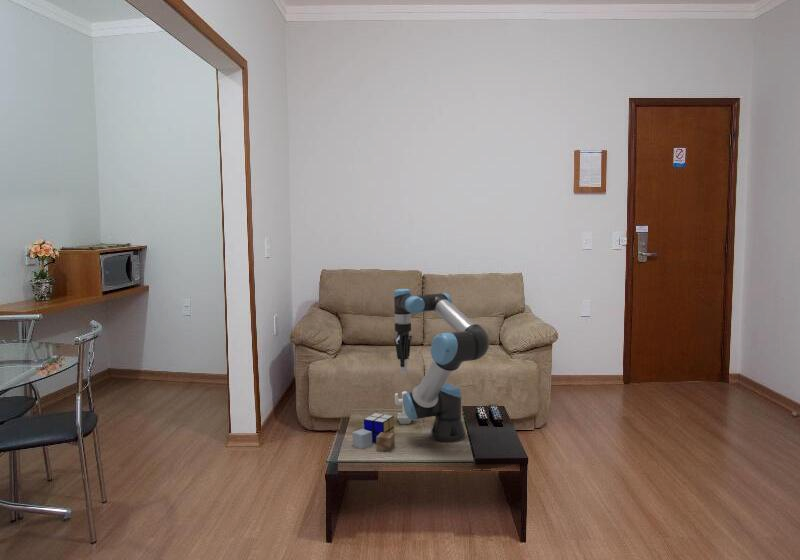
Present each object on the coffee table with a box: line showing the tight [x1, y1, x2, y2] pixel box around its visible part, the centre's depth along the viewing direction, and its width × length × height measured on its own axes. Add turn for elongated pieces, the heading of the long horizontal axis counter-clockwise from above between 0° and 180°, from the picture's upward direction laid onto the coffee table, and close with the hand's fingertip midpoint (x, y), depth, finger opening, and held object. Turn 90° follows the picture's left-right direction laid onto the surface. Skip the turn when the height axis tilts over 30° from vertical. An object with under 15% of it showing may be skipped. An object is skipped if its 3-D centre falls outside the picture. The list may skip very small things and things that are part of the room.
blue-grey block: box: [351, 428, 373, 450], centre depth 249 cm, size 6×6×6 cm
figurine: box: [394, 390, 412, 425], centre depth 277 cm, size 7×9×15 cm
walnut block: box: [375, 432, 396, 453], centre depth 245 cm, size 6×6×6 cm
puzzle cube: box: [363, 412, 395, 444], centre depth 256 cm, size 10×10×10 cm
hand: (403, 373), depth 267 cm, fingers closed
